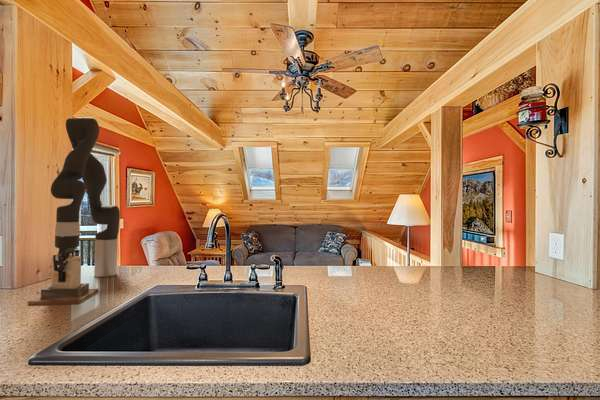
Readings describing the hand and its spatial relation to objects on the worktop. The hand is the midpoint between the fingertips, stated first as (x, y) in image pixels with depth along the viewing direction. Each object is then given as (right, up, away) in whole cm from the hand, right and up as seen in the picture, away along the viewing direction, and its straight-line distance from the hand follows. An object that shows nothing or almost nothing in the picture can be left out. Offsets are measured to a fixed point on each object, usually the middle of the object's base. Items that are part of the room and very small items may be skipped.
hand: (66, 279), depth 128 cm
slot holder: (0, -7, 0) cm, 7 cm away
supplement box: (0, -5, 0) cm, 5 cm away
